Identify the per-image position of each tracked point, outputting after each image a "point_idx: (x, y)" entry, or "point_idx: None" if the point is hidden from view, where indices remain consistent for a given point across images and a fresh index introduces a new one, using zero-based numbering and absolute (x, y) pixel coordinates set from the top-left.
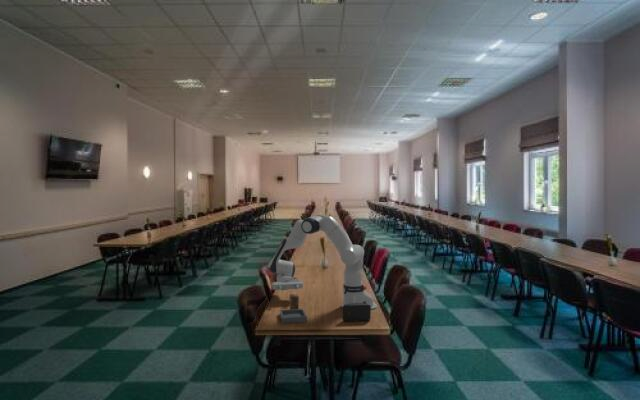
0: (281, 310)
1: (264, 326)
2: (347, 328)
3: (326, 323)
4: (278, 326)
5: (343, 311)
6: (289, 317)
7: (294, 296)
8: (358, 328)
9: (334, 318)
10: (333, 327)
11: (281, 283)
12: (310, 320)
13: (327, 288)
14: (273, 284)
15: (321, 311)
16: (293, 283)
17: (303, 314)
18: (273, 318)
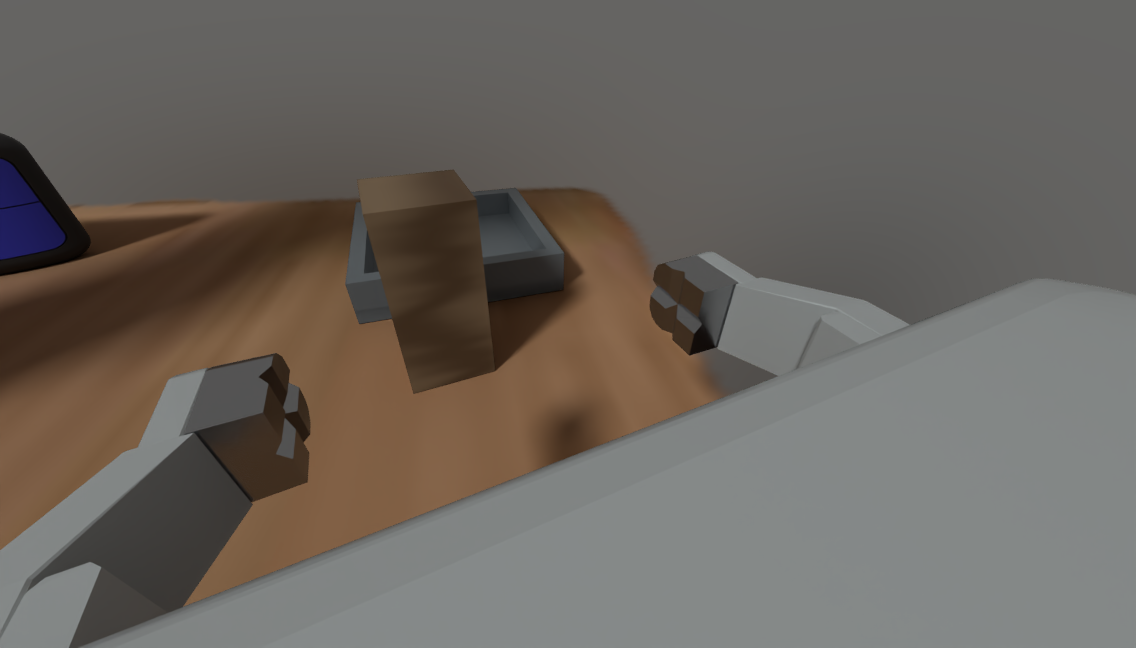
0: (549, 249)
1: (598, 200)
2: (153, 206)
3: (242, 231)
4: (529, 202)
5: (46, 176)
6: (472, 193)
7: (413, 174)
8: (84, 208)
9: (119, 280)
10: (229, 208)
11: (1029, 433)
12: (334, 249)
13: None
14: (1117, 291)
15: (119, 389)
16: (238, 626)
17: (369, 245)
18: (590, 253)
